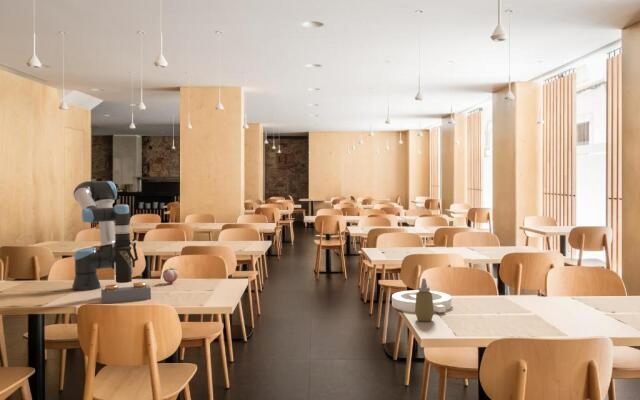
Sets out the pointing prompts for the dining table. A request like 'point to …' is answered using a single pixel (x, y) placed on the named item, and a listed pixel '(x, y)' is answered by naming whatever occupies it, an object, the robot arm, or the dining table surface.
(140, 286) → the gold lidded jar
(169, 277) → the decorative fruit
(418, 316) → the squeeze bottle
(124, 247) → the container
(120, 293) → the grey block stand
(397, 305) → the ring with crossbar
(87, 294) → the dining table surface
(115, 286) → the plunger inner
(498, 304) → the dining table surface
